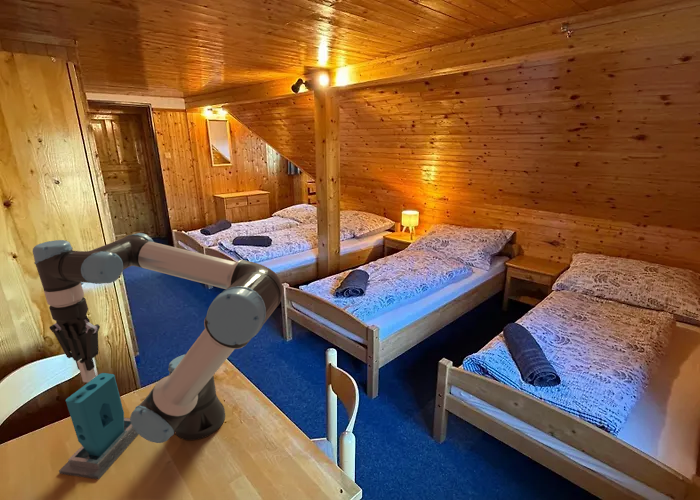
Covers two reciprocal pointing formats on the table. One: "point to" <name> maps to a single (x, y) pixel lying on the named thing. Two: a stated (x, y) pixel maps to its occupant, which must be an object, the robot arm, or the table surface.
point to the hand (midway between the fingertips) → (89, 379)
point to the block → (97, 414)
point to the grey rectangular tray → (95, 465)
